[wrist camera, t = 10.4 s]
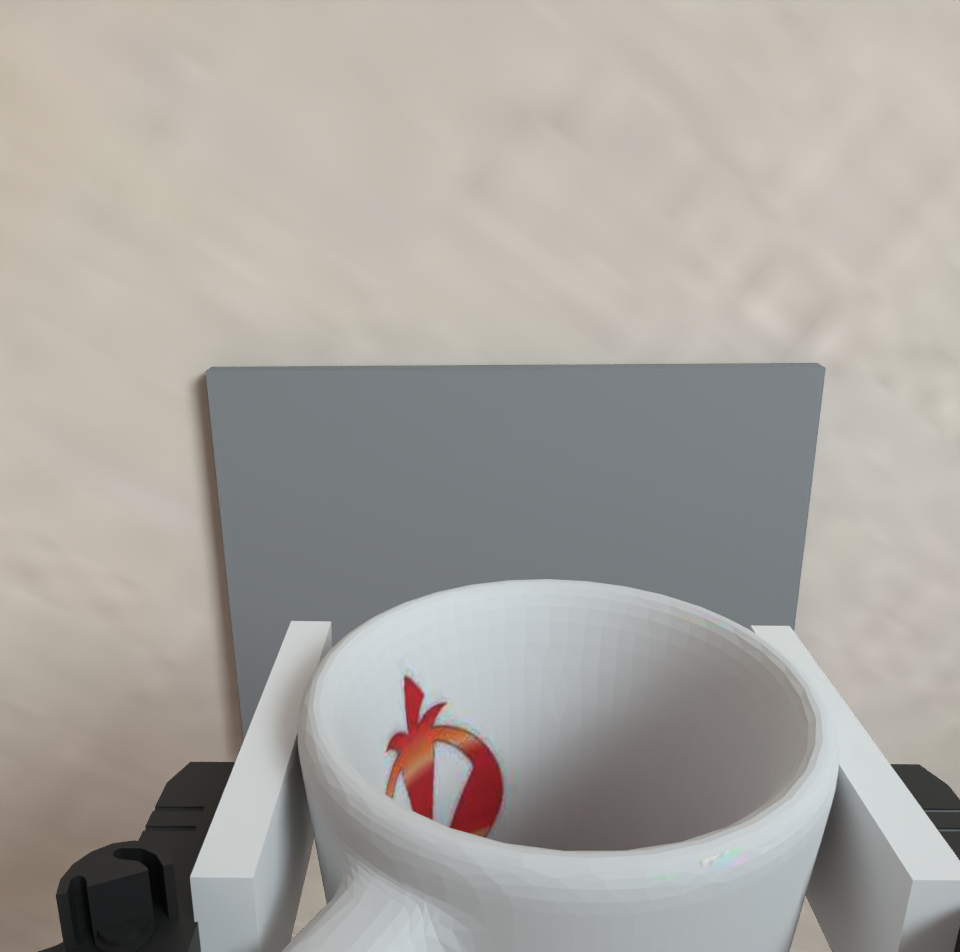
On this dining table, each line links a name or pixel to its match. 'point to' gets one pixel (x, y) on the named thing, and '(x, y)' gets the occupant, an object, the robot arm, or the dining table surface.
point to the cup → (561, 777)
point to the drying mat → (506, 487)
